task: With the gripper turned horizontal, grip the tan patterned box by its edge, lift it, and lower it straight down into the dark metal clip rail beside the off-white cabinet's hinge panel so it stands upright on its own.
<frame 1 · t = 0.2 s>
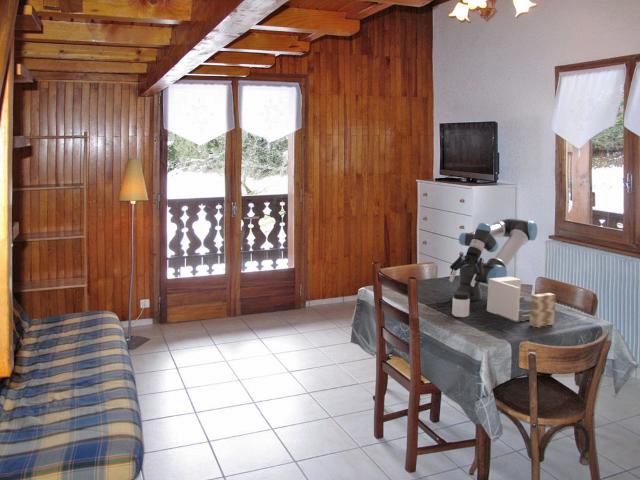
hand: (461, 283, 344), 15 cm above the table, tool tilted 35°, fingers open, 13 cm apart
cabinet: (523, 318, 333), on the table
tan patterned box: (541, 325, 322), on the table
jar: (460, 315, 339), on the table
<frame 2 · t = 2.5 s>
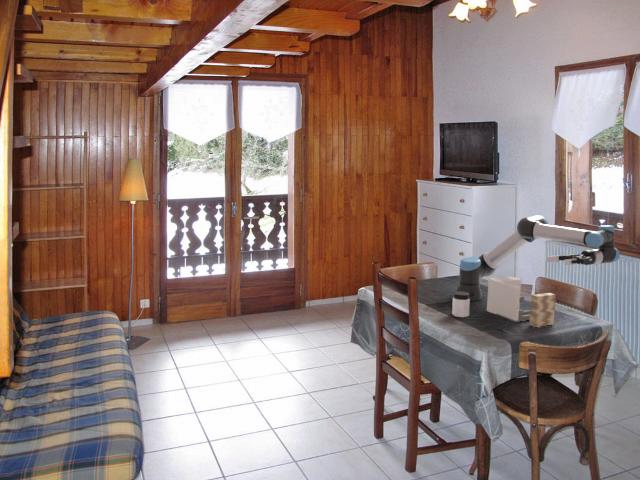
hand: (556, 260, 321), 32 cm above the table, tool horizontal, fingers open, 13 cm apart
nothing on the table moved.
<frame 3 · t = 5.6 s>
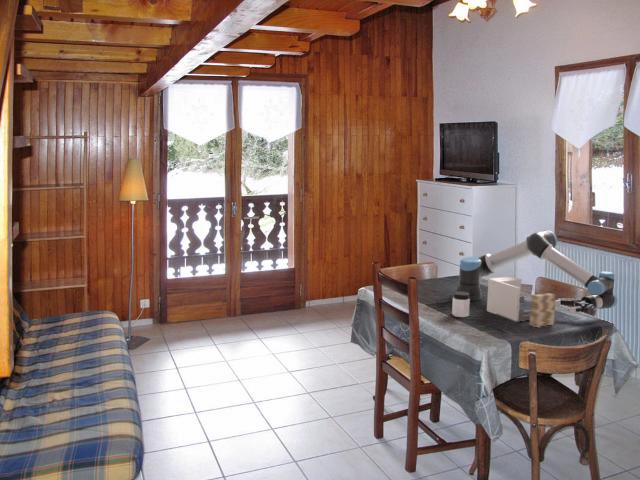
hand: (560, 306, 324), 9 cm above the table, tool horizontal, fingers open, 13 cm apart
nothing on the table moved.
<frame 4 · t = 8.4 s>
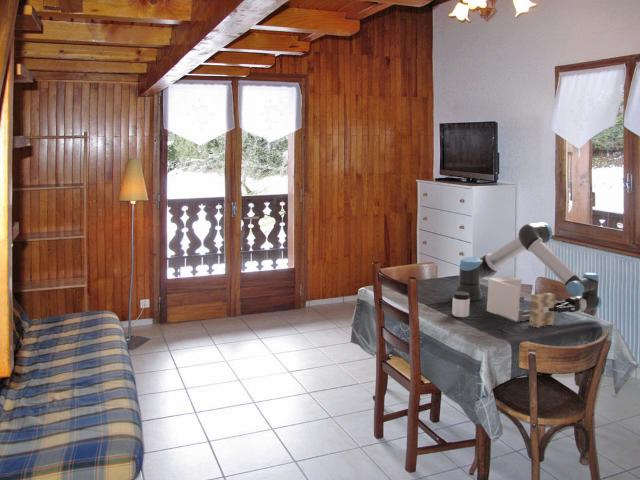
hand: (539, 308, 319), 9 cm above the table, tool horizontal, fingers closed on tan patterned box, 4 cm apart
tan patterned box: (541, 325, 322), on the table, touching gripper
everything else where it was.
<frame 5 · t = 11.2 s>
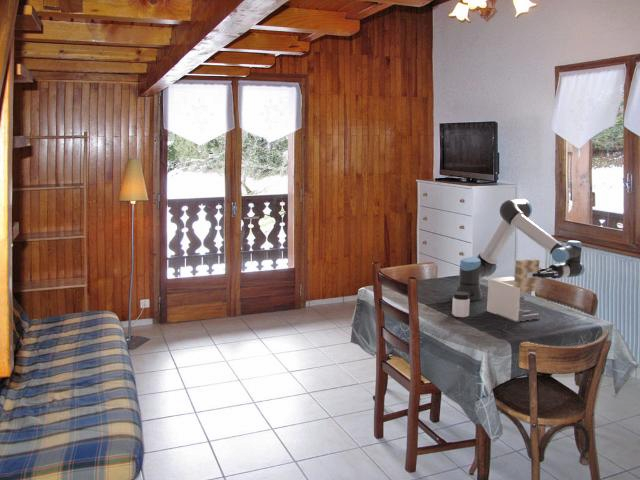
hand: (523, 274, 329), 24 cm above the table, tool horizontal, fingers closed on tan patterned box, 4 cm apart
tan patterned box: (525, 290, 331), point 15 cm above the table, touching gripper
everything else where it was.
when the fingers open (11 cm above the table, at t = 14.4 s): tan patterned box drops 1 cm, resting on cabinet.
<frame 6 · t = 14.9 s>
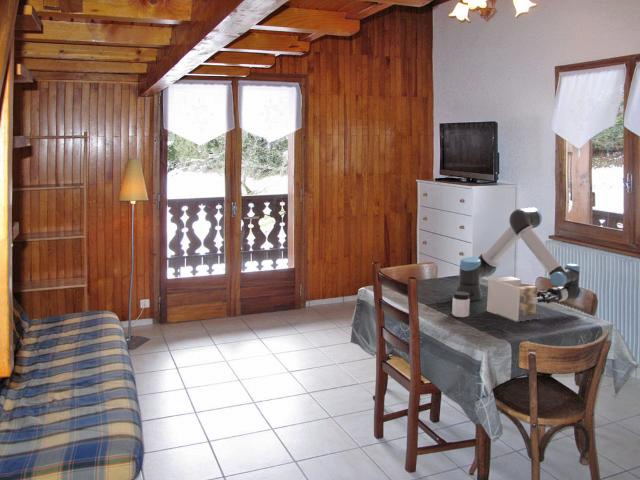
hand: (524, 298, 331), 11 cm above the table, tool horizontal, fingers open, 11 cm apart
tan patterned box: (523, 317, 333), point 1 cm above the table, touching cabinet
everything else where it was.
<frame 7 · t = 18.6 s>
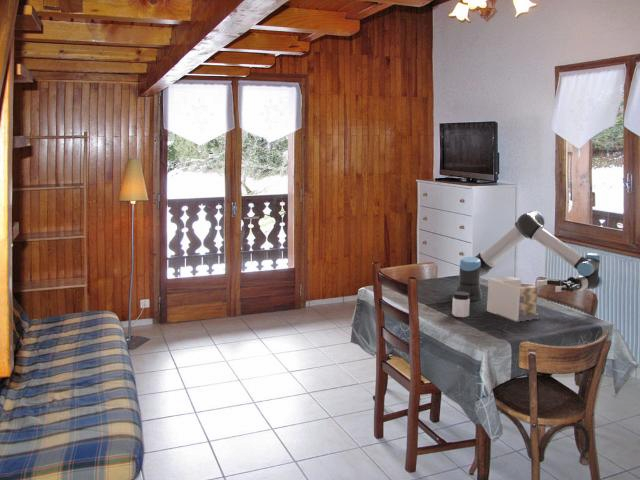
hand: (546, 286, 336), 16 cm above the table, tool horizontal, fingers open, 13 cm apart
nothing on the table moved.
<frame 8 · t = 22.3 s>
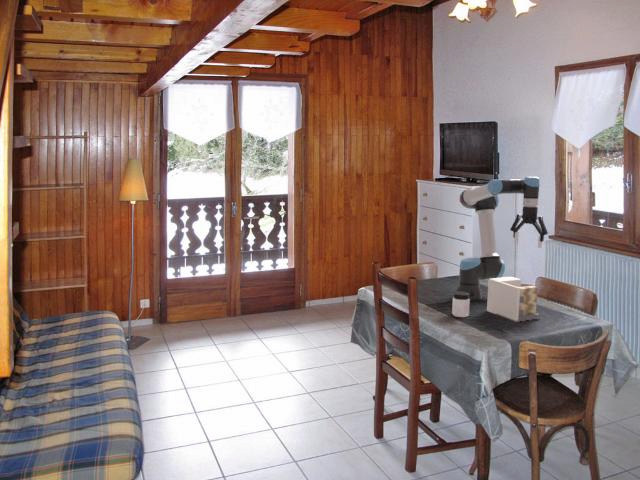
hand: (527, 245, 339), 37 cm above the table, tool pointing down, fingers open, 13 cm apart
nothing on the table moved.
at the end: tan patterned box 0.1 cm off-centre on the cabinet, point 0.8 cm above the cabinet's base; tan patterned box tilted 0°; the gripper is holding nothing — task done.
